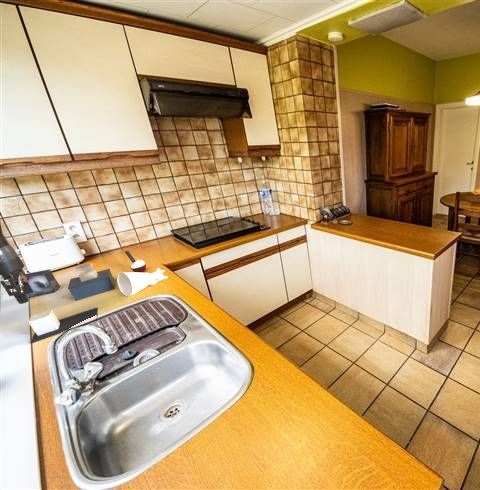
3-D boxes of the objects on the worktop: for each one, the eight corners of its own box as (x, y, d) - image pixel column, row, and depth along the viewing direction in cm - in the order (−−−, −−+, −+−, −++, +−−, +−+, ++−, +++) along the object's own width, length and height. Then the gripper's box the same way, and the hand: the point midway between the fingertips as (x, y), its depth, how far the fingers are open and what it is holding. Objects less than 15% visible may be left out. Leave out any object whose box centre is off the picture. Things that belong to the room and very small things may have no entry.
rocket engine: (163, 258, 138) (121, 267, 122) (176, 274, 137) (135, 286, 120) (156, 272, 143) (114, 283, 126) (168, 288, 141) (128, 301, 125)
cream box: (81, 281, 125) (74, 269, 123) (82, 278, 129) (75, 266, 126) (97, 277, 129) (91, 265, 126) (97, 274, 132) (91, 262, 130)
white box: (37, 336, 101) (28, 322, 98) (40, 329, 104) (30, 316, 102) (58, 328, 104) (49, 315, 102) (60, 323, 108) (51, 310, 105)
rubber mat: (31, 343, 98) (30, 342, 98) (37, 328, 106) (36, 327, 106) (96, 320, 109) (96, 319, 109) (97, 307, 117) (97, 307, 117)
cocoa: (148, 272, 147) (140, 252, 142) (134, 276, 143) (125, 256, 138) (146, 266, 153) (138, 248, 148) (132, 270, 149) (123, 251, 145)
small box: (24, 299, 127) (11, 280, 123) (32, 292, 133) (20, 274, 128) (54, 292, 132) (43, 274, 127) (61, 286, 137) (50, 268, 133)
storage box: (75, 301, 123) (67, 288, 120) (77, 291, 132) (70, 279, 129) (115, 288, 132) (109, 276, 129) (115, 280, 140) (109, 268, 137)
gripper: (-10, 256, 94) (16, 294, 101) (-24, 269, 85) (6, 310, 91) (22, 249, 99) (45, 286, 105) (12, 261, 89) (38, 301, 96)
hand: (27, 297), depth 98 cm, fingers open, 8 cm apart
